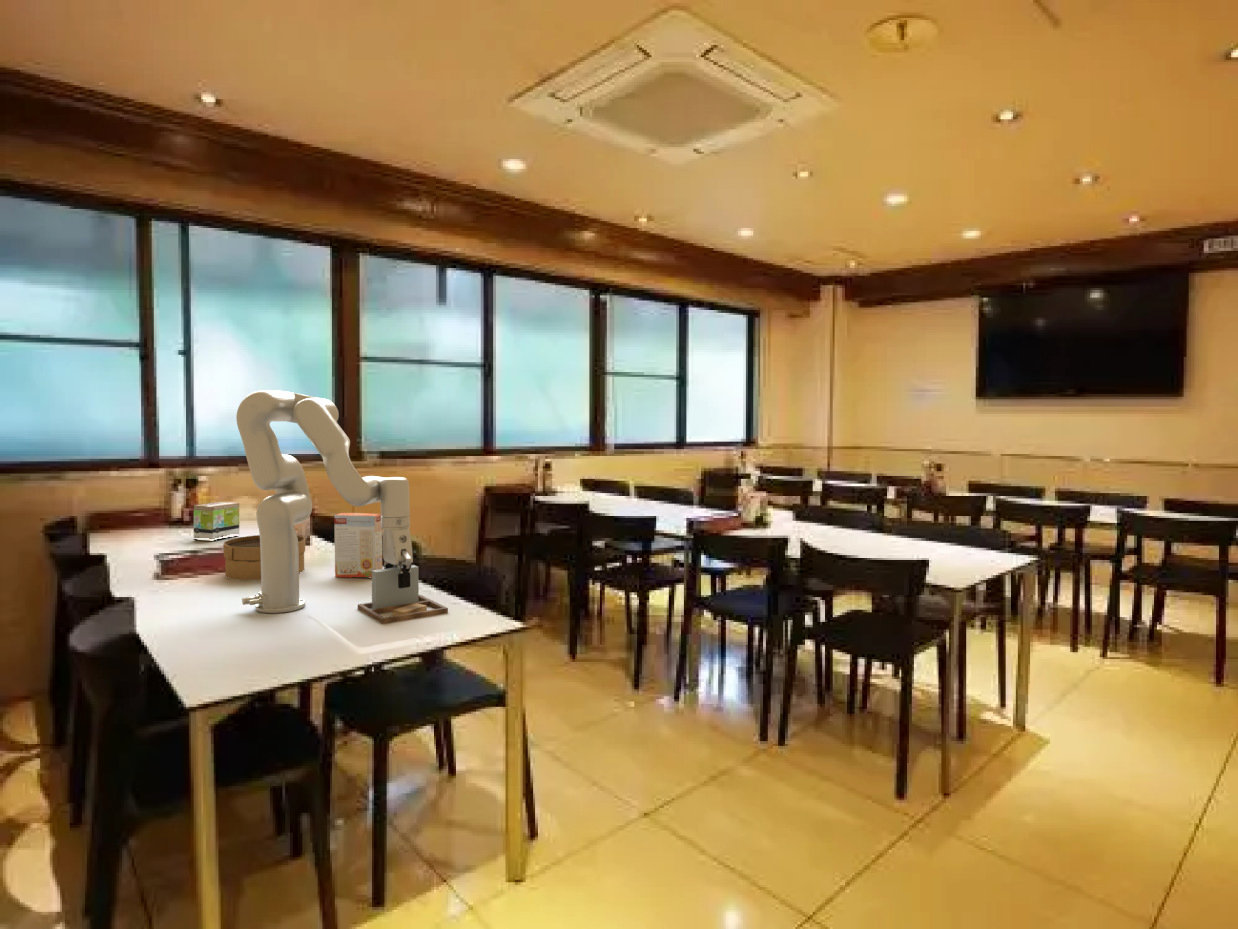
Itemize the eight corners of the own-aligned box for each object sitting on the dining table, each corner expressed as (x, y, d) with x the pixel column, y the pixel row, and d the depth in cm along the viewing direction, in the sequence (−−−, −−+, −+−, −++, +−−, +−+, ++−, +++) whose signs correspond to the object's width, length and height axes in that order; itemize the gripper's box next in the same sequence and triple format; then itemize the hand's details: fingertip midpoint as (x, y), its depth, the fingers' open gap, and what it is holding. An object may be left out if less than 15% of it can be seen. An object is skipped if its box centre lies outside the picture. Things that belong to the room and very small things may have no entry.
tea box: (213, 542, 300) (212, 506, 299) (193, 540, 302) (192, 505, 301) (240, 536, 315) (239, 502, 314) (220, 535, 317) (219, 501, 316)
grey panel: (376, 616, 197) (375, 572, 196) (372, 614, 199) (371, 570, 198) (418, 609, 204) (418, 567, 203) (414, 607, 207) (413, 565, 206)
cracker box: (383, 575, 246) (382, 513, 244) (375, 579, 240) (374, 515, 238) (343, 573, 247) (342, 511, 245) (334, 577, 241) (333, 514, 239)
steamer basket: (225, 583, 230) (225, 548, 229) (222, 569, 252) (221, 537, 251) (310, 576, 243) (310, 542, 242) (300, 563, 264) (299, 532, 264)
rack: (382, 628, 186) (382, 619, 185) (357, 613, 199) (357, 604, 199) (447, 617, 197) (447, 608, 197) (420, 603, 210) (420, 594, 210)
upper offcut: (403, 619, 190) (403, 612, 190) (392, 616, 192) (392, 609, 192) (426, 612, 197) (426, 605, 197) (416, 609, 199) (416, 603, 199)
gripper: (422, 524, 196) (423, 588, 197) (396, 517, 209) (397, 577, 210) (394, 527, 191) (396, 592, 192) (370, 520, 204) (372, 581, 205)
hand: (397, 584), depth 201 cm, fingers open, 9 cm apart
